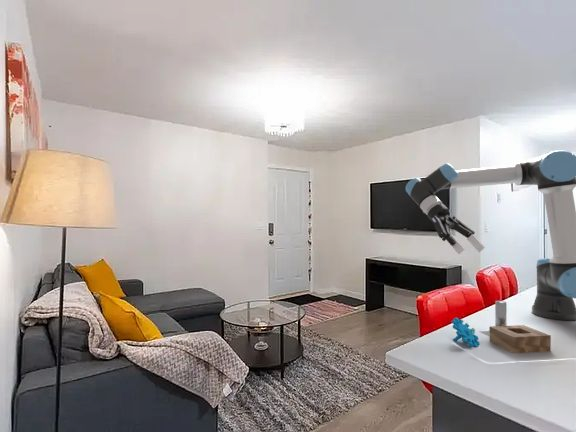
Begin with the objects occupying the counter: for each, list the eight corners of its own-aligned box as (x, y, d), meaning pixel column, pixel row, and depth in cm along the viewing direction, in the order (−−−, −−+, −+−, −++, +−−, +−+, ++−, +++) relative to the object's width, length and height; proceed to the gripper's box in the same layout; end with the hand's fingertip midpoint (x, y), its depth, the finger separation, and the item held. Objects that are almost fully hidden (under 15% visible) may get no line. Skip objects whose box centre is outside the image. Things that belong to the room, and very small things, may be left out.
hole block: (523, 340, 113) (523, 325, 113) (550, 352, 103) (550, 335, 103) (489, 342, 111) (489, 326, 111) (513, 354, 101) (513, 337, 101)
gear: (471, 346, 103) (449, 316, 109) (456, 356, 106) (436, 327, 112) (488, 343, 109) (466, 316, 116) (473, 353, 112) (453, 325, 119)
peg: (501, 332, 119) (501, 300, 119) (508, 336, 116) (508, 302, 116) (493, 333, 119) (493, 300, 119) (500, 336, 115) (499, 303, 115)
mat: (505, 331, 122) (505, 330, 122) (523, 339, 114) (523, 338, 114) (479, 332, 120) (479, 331, 120) (495, 340, 113) (495, 339, 113)
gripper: (446, 216, 147) (482, 255, 135) (408, 215, 133) (445, 259, 121) (458, 203, 143) (497, 242, 130) (421, 201, 129) (460, 245, 116)
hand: (472, 250), depth 125 cm, fingers open, 13 cm apart
